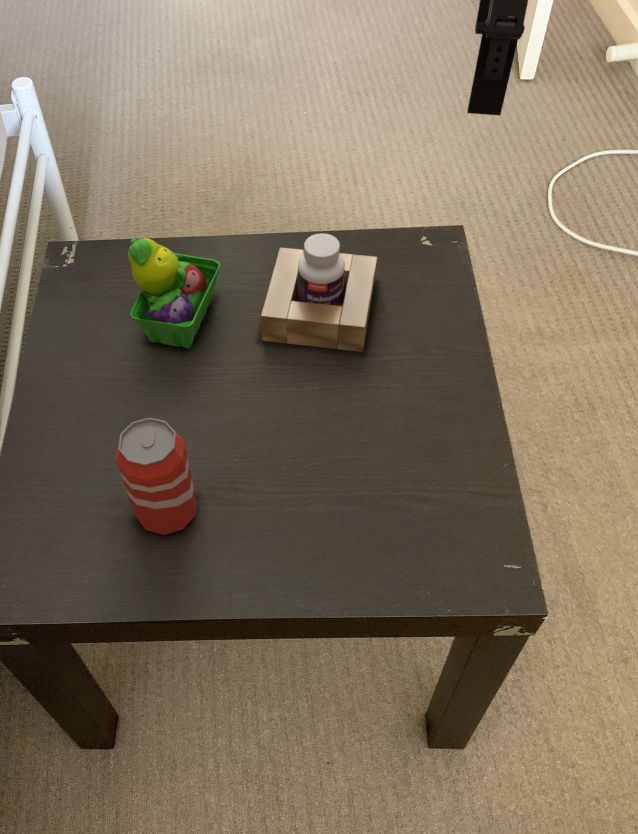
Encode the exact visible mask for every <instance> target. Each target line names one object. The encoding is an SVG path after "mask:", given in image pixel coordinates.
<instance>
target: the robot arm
mask: <svg viewBox="0 0 638 834" xmlns="http://www.w3.org/2000/svg"><path fill="white" fill-rule="evenodd" d="M528 3H529V0H479V3H478V10H477V16H476V20H475V26H474V33H475V35H481V37H480V38H481V39H480V43H479V48H478V54H477V58H476V64H475V68H474V69H475V70H474V75H473V79H472V85H471V90H470V95H469V101H468V105H467V114H473V115H487V116H501V115H502V110H503V107H504V101H505V98H506V94H507V89H508V85H509V80H510V75H511V73H512V72H511V71H512V67H513V63H514V58H515V54H516V50H517V46H518V42H519V40H521V38H522V37H523V34H524V32H525V26H526V25H525V19H526V14H527V9H528Z"/></svg>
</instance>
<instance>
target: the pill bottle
mask: <svg viewBox="0 0 638 834" xmlns="http://www.w3.org/2000/svg"><path fill="white" fill-rule="evenodd" d="M303 250H304V254H303V255H302V256H301V258H300V260H299V263H298V301H297V302H306V303H316V304H325V305H335V306H342V307H343V302H344V296H343V286H344V272H345V263H344V260H343V258H342V256H341V255H340V254H339V253H341V244H340V241H339V240H338V239H337V237H335V236H334V235H332V234H329V233H315V234H312V235H310V236H309V237H308V238H306V240H305V241H304V243H303Z"/></svg>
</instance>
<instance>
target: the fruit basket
mask: <svg viewBox="0 0 638 834" xmlns="http://www.w3.org/2000/svg"><path fill="white" fill-rule="evenodd" d="M130 243H131V245H130V246H129V248H128V252H127V257H128V261H129V263H130V266H131V267H130V268H131V275H132V278H133V280H134V282H135V284H136V285H137V287H138V288H139V289H140V293H139V294H138V297H137V298H136V300H135V302H134V304H133V306H132V308H131V310H130V313H129V314H130V317H131V318H132V319H133V320H134V321H135V323H137V325H138V326H139V327H140V329H141V330H142V331H143V333H144V335H145V336H146V337H147V339H148V340H149V341H150V342H151V343H160V344H162V345H167V346H172V347H182V348H184V349H190V348H191V347H192V344H193V342H194V339H195V336H196V335H197V334H198V332H199V330H200V328H201V323H202V321H203V320H204V319H205V316H206V314H207V311H208V308H209V307H210V305H211V304H212V301H213V299H214V292H215V287H216V282H217V277H218V275H219V272H220V268H221V262H220V261H219V260H216V259H212V258H205V257H199V256H194V255H188V254H183V253H176V252H173V251H172V250H170V249H169V248H167V247H166V246H164V245H162V244H159V243H157V242H156V241H154V240H153V239H151V238H147V237H143V238H138V239H137V238H136V237H133V238H132V239H131V240H130Z"/></svg>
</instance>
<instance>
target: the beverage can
mask: <svg viewBox="0 0 638 834" xmlns="http://www.w3.org/2000/svg"><path fill="white" fill-rule="evenodd" d="M185 444H186V443H185V441H184V439H183V438H182V437H181V436H180V435H179V433H177V431H176V430H175V429H174V428H173V427H172V426H171V425H170V424H169V423H168V422H167V421H166V420H163V419H158V418H154V417H146V418H143V419H139V420H135V421H132V422H131V423H130V424H129V425H128V426H127V427H125V429H124V430H123V431H122V432H120V434H119V441H118V443H117V448H116V449H117V450H116V458H115V462H116V465H117V468H118V472H119V474H120V476H121V479H122V482H123V485H124V488H125V491H126V493H127V496H128V499H129V503H130V504H131V507H132V510H133V513H134V516H135V518H136V519H137V520H138V522H139V523H140V525H141V526H142V527H143V528H144V530H145V531H148V532H152V533H156V534H159V535H163V536H164V535H168V534H172V533H175V532H178V531H182V530H184V529H185V528H186V527H187V525H189V524H190V522H191V521H192V520H193V519H194V518H195V516H196V514H197V495H196V491H195V485H194V481H193V476H192V472H191V467H190V464H189V462H190V461H189V459H188V453H187V448H186V445H185Z"/></svg>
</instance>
